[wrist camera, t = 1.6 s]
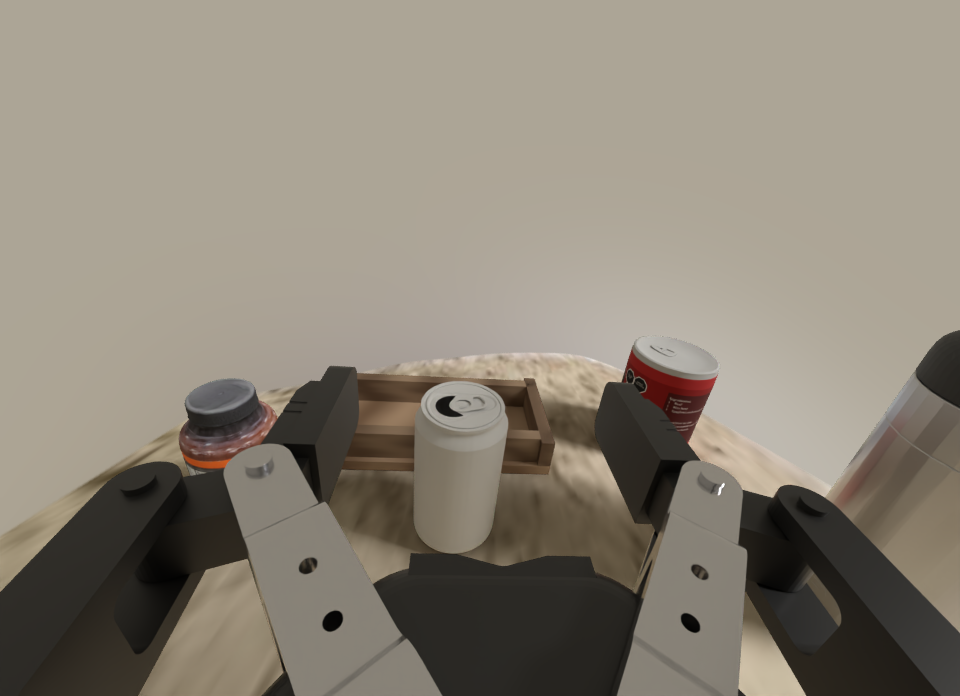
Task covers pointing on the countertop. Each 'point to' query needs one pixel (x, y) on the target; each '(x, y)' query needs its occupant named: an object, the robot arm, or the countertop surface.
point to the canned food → (673, 378)
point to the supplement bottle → (222, 424)
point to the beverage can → (457, 464)
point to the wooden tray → (392, 423)
